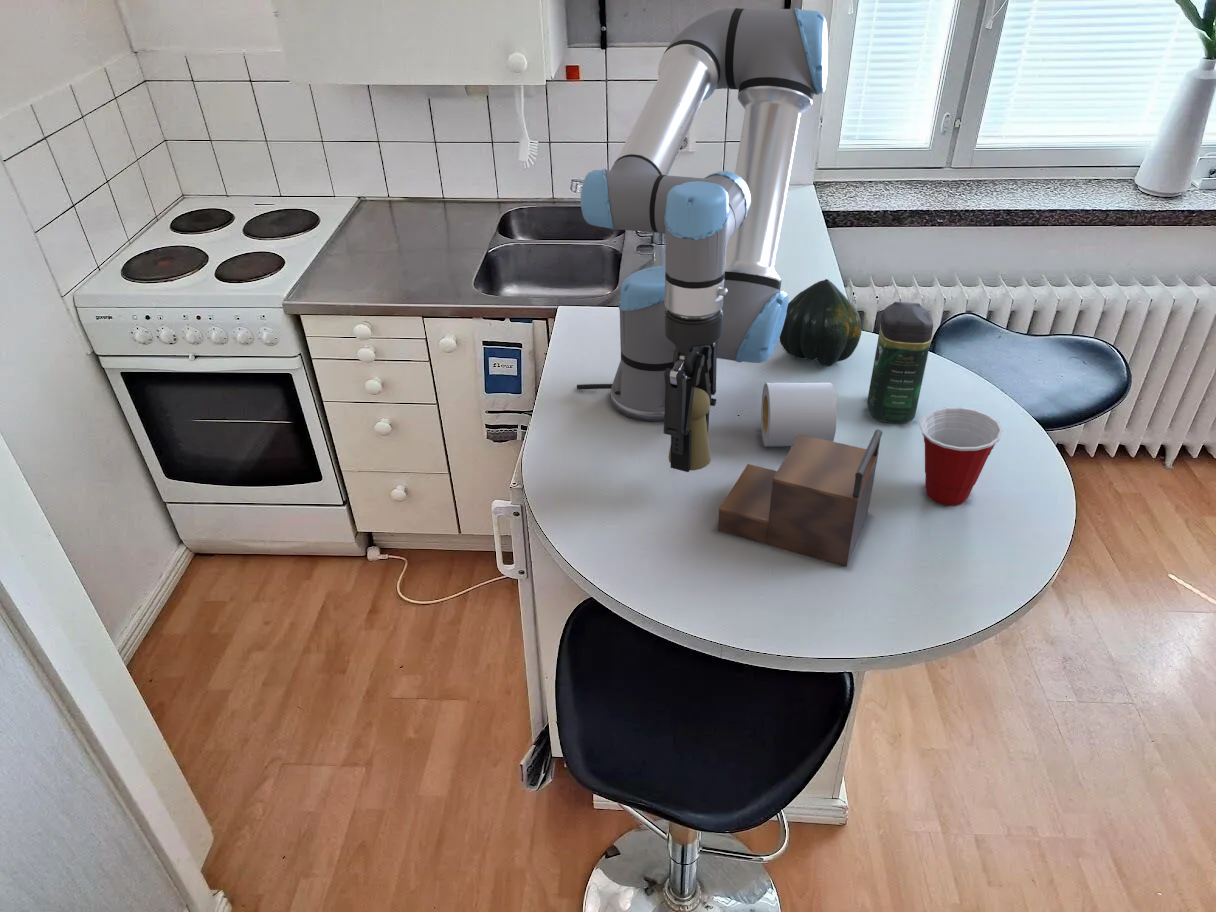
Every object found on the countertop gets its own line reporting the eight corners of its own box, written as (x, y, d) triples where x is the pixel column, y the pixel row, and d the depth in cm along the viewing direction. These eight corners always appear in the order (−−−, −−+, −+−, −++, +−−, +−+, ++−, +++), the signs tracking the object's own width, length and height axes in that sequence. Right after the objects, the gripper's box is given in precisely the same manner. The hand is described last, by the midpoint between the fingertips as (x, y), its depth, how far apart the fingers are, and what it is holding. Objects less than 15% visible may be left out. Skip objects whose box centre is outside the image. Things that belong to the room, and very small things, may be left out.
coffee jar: (917, 427, 143) (939, 323, 132) (868, 423, 144) (885, 320, 134) (912, 398, 151) (932, 298, 140) (865, 395, 152) (881, 296, 142)
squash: (808, 358, 152) (855, 284, 151) (751, 331, 163) (795, 262, 162) (846, 389, 162) (890, 319, 161) (790, 362, 173) (831, 296, 171)
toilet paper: (766, 458, 136) (772, 403, 131) (759, 425, 144) (764, 371, 139) (831, 458, 136) (839, 402, 130) (820, 425, 144) (827, 371, 139)
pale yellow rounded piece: (687, 442, 129) (689, 376, 122) (719, 457, 125) (722, 391, 119) (659, 458, 125) (660, 392, 119) (691, 475, 122) (693, 408, 115)
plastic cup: (895, 476, 131) (908, 407, 125) (964, 471, 132) (981, 402, 125) (922, 519, 122) (938, 448, 116) (997, 514, 123) (1017, 443, 116)
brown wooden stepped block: (717, 531, 121) (723, 442, 113) (745, 485, 130) (752, 400, 122) (847, 567, 114) (862, 475, 106) (867, 516, 123) (883, 428, 115)
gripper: (693, 344, 104) (688, 499, 117) (746, 285, 117) (736, 429, 130) (636, 333, 106) (637, 485, 119) (694, 276, 120) (690, 418, 133)
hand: (689, 456), depth 125 cm, fingers closed on pale yellow rounded piece, 6 cm apart
